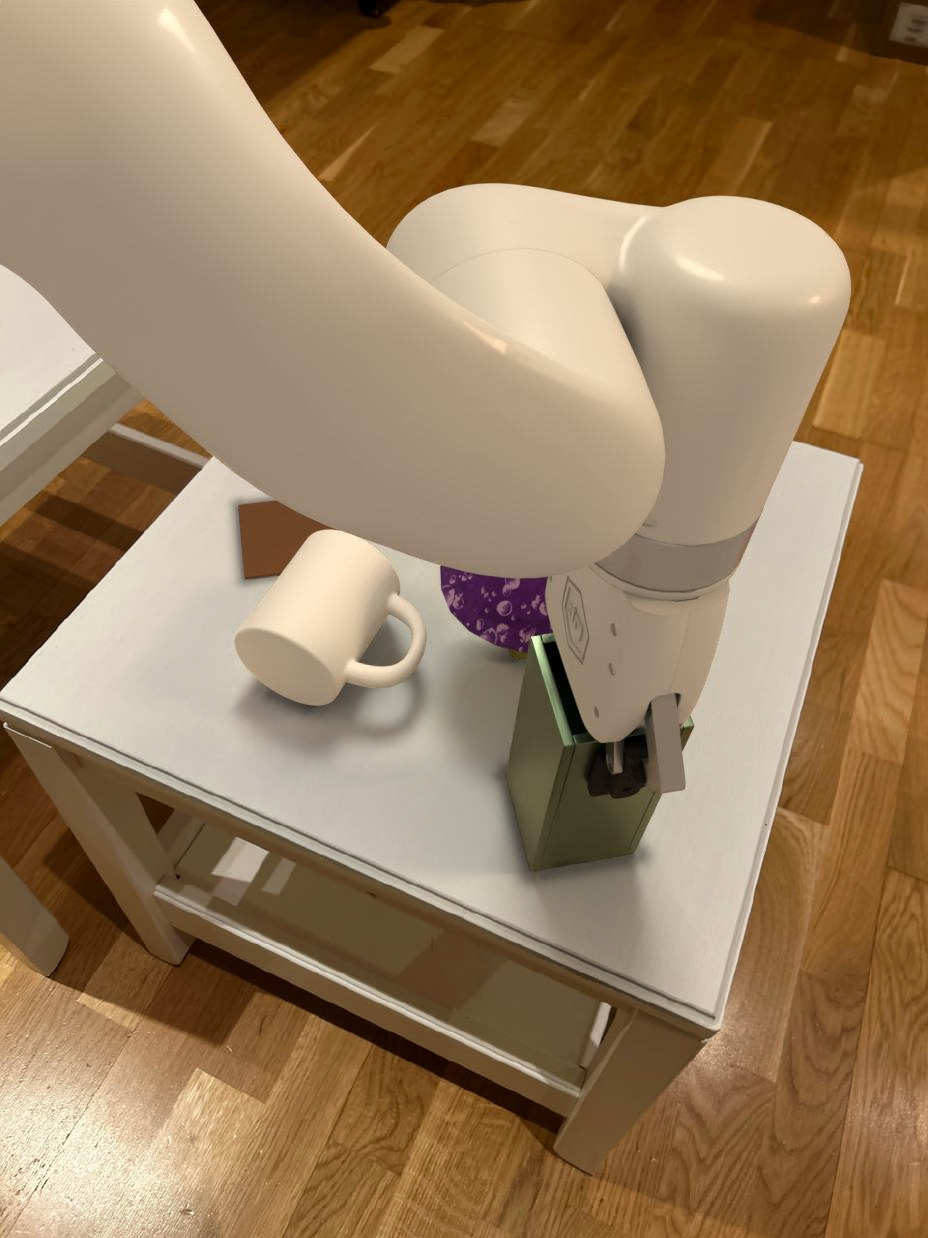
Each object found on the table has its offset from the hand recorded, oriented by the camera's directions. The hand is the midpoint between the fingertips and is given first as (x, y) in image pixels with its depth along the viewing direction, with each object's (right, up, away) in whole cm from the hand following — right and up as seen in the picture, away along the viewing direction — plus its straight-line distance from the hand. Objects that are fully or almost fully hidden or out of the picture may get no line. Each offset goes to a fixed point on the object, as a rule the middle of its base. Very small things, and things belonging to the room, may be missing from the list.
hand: (595, 726), depth 53 cm
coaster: (-22, +13, +23) cm, 34 cm away
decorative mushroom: (-3, +3, +17) cm, 17 cm away
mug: (-16, +3, +16) cm, 23 cm away
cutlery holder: (-1, -7, +9) cm, 11 cm away
